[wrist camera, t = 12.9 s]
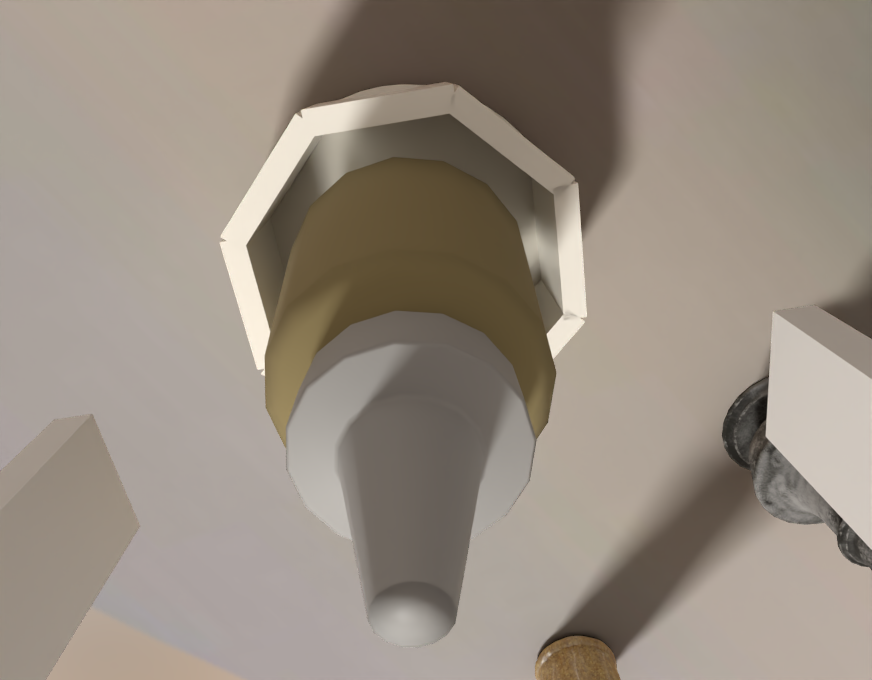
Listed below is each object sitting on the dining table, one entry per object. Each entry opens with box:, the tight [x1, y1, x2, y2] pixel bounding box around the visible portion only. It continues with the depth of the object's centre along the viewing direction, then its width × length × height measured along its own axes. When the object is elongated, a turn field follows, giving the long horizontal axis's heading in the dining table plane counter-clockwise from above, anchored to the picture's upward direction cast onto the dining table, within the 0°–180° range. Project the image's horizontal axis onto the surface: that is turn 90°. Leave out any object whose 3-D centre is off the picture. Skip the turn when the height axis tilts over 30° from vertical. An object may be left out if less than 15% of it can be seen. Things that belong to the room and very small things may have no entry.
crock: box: [220, 82, 587, 376], centre depth 23 cm, size 12×12×5 cm
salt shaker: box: [722, 378, 872, 570], centre depth 24 cm, size 6×6×12 cm
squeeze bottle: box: [265, 157, 556, 648], centre depth 17 cm, size 8×8×18 cm
